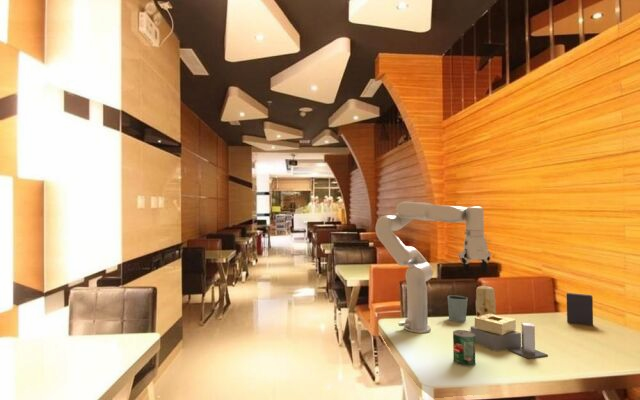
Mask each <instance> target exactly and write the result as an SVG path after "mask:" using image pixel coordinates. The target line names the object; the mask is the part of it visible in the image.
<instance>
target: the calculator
mask: <svg viewBox="0 0 640 400" xmlns="http://www.w3.org/2000/svg"><path fill="white" fill-rule="evenodd" d="M593 302H594V301H593V295H591V294H583V293H574V292H573V293H571V292H566V321H567V323H568V324H574V325H575V324H576V325H584V326H591V327H593V326H594V310H593V309H594V307H593V306H594V305H593V304H594V303H593Z"/></svg>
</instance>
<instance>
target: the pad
mask: <svg viewBox="0 0 640 400" xmlns="http://www.w3.org/2000/svg"><path fill="white" fill-rule="evenodd" d="M507 350H508V351H509V352H511V353H514V354H516V355H518V356H520V357H522V358H524V359H527V360H532V359H539V358H545V357H548V356H549V355H548V354H547V353H544V352H542V351H540V350H537V349H535V354H529V353H524V352H523V350H522V346H521V347H518V348H510V349H507Z"/></svg>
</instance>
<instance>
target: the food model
mask: <svg viewBox="0 0 640 400" xmlns="http://www.w3.org/2000/svg"><path fill="white" fill-rule="evenodd" d="M495 294H496V293H495V288H494V287H492V286H487V285H480V286H479V285H478V287H476V291H475V313H476V315H475V316H476V317H479V316H482V315H486V314H493V315H497V314H496V313H497V311H496V295H495Z"/></svg>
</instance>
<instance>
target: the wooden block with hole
mask: <svg viewBox="0 0 640 400" xmlns="http://www.w3.org/2000/svg"><path fill="white" fill-rule="evenodd" d="M516 323H517V321H516V319H515V318H511V317H507V316H503V315H497V314H495V315H493V314H486V315H482V316H479V317H477V316H476V317H474V326H475V328H476V329H480V330H484V331H488V332H491V333H495V334H499V335H504V334H507V333H509V332H512V331H517V327H516V326H517V325H516Z"/></svg>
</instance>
